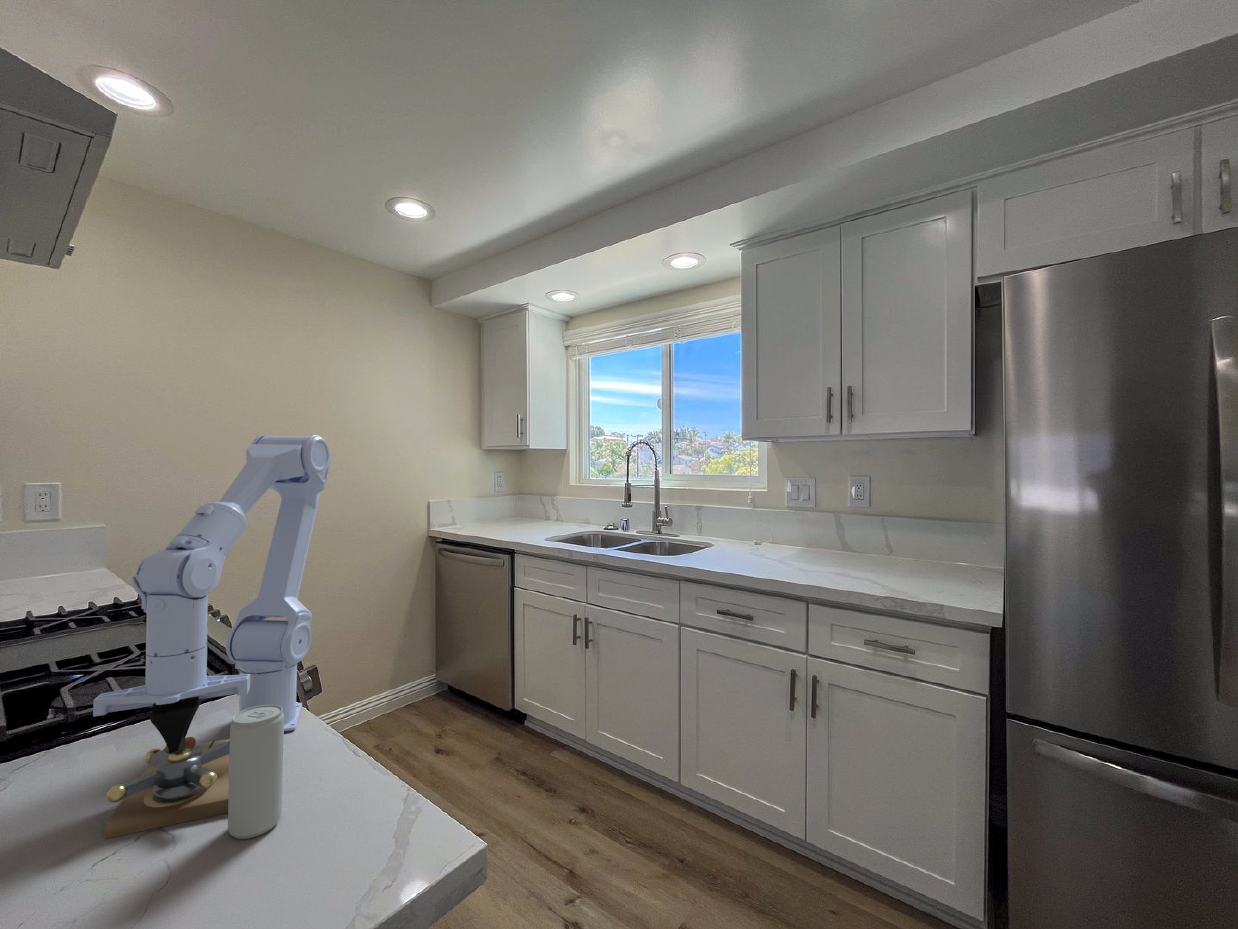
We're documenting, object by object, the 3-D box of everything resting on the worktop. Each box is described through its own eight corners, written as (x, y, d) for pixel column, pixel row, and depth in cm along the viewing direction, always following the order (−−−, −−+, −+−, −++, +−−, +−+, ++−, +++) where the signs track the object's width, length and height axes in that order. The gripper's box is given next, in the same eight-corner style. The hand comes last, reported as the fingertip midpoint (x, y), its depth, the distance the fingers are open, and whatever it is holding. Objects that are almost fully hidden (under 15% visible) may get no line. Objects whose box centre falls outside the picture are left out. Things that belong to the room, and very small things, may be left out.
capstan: (76, 802, 58) (78, 767, 58) (208, 749, 70) (209, 719, 70) (139, 837, 53) (140, 798, 53) (271, 773, 64) (272, 741, 64)
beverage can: (254, 845, 55) (257, 725, 55) (215, 838, 56) (218, 721, 56) (292, 816, 59) (294, 706, 60) (255, 810, 60) (258, 702, 61)
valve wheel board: (158, 763, 70) (159, 734, 70) (268, 744, 75) (268, 717, 75) (105, 838, 55) (106, 802, 55) (245, 809, 60) (246, 775, 61)
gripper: (81, 669, 58) (79, 796, 58) (243, 650, 64) (241, 765, 64) (108, 650, 64) (106, 764, 64) (253, 634, 71) (252, 738, 71)
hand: (175, 763), depth 65 cm, fingers closed, pressing on capstan
